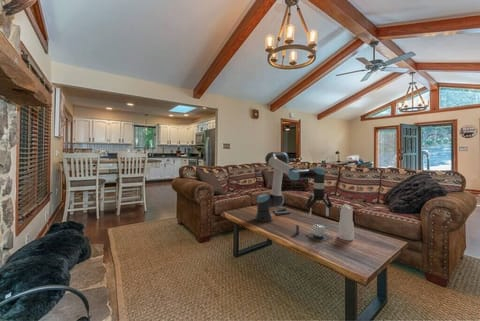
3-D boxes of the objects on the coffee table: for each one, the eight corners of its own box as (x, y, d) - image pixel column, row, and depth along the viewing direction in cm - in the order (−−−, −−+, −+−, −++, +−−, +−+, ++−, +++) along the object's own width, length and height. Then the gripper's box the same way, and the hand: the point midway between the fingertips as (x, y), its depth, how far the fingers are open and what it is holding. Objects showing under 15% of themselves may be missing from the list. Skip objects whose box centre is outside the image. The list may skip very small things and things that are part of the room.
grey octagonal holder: (311, 232, 167) (311, 224, 167) (322, 231, 167) (322, 224, 167) (315, 236, 159) (315, 228, 159) (326, 236, 159) (326, 228, 159)
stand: (291, 234, 169) (292, 224, 169) (297, 233, 172) (297, 223, 172) (297, 237, 164) (297, 227, 164) (303, 235, 167) (303, 225, 167)
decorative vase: (353, 241, 156) (354, 207, 155) (337, 238, 162) (337, 205, 160) (354, 236, 165) (355, 204, 164) (339, 233, 171) (339, 202, 169)
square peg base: (305, 236, 165) (305, 225, 165) (317, 232, 172) (317, 221, 172) (320, 243, 153) (320, 231, 153) (333, 239, 160) (333, 227, 160)
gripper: (305, 189, 156) (304, 218, 157) (337, 188, 159) (337, 216, 160) (300, 187, 163) (300, 215, 165) (331, 186, 167) (331, 213, 168)
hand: (318, 216), depth 162 cm, fingers open, 13 cm apart
